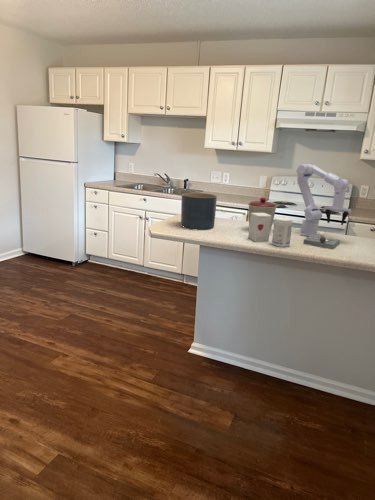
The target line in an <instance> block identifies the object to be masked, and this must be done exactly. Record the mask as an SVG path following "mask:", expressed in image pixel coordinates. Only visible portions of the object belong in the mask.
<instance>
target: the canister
mask: <svg viewBox="0 0 375 500" xmlns="http://www.w3.org/2000/svg"><path fill="white" fill-rule="evenodd" d="M247 206H248V224H249V225H248V227H249V226H250V216H251V213H266V214H269V215H271V225H270V230H271V229H272V228H273V224H274V220H275V214H276V210H277V208H278V204H277V205H276V203H274V202H271V201H267V198H265V197H260V198H259V200H254V201H250V202H249V203H247Z"/></svg>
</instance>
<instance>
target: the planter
mask: <svg viewBox="0 0 375 500" xmlns="http://www.w3.org/2000/svg"><path fill="white" fill-rule="evenodd" d="M217 199H218V196H217V195H215V194H211V193H206V192H205V193H204V192H186V193H182V194H181V205H180V207H181V209H180V210H181V211H180V213H181V215H180V216H181V217H180V220H181V221H180V225H182V226H184V227H186V228H185V229H187V228H189V229H188V230H193V229H197V230H196V231H206V230H207V231H209V230H212V229H214V228H215V220H216V208H217ZM182 226H181V227H182ZM184 227H183V228H184Z"/></svg>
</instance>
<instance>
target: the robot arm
mask: <svg viewBox="0 0 375 500" xmlns="http://www.w3.org/2000/svg"><path fill="white" fill-rule="evenodd" d="M296 173H297V184H298V187H299V190H300V193H301V197H302V199H303V202H304V205H305V208H304V212H303V213H304V220H302V221H301V227H300V233H299V235H301V236H306V237H309V236H311V235H315V236H319V233H318V228H319V222H320V220H321V219H322V218H323V213H322V211H321V210H320V208H319V206H317V205H316V203H315V200H314V198H313V195H312V191H311V188H310V186H309V182H308V180H309V179H310V177H311V176H312V175H313V174H314V175H317V176H318V177H321V178H323V179H324V182H325V183H327V184H329V185H331V186H333V188H334V193H333V199H332V201H333V202H332V206H328V205H327V206H324V207H323V210H324V213H325V216H326V222H327V224H329V223H330V221H331V216H332V215H331V214H332V212H339V213H342V216H341V222H340V226H343V225H344V223H345V221H346V219H347V217H348V216H349V214H351V213H352V209H350V208H345V207H344V206H345V205H344V204H345V197H346V192H347V189H348V187H349V186H350V185H349V180H348V179H347V178H342V177H341V176H338V175H336V173H335V172H326V171H325V170H323V169H322V168H320V167H318V166H317V165H314V164H312V163H307V164H306V163H305V164H304V163H301V164H298V166H297V168H296Z"/></svg>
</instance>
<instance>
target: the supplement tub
mask: <svg viewBox="0 0 375 500" xmlns="http://www.w3.org/2000/svg"><path fill="white" fill-rule="evenodd" d="M272 229H273V230H272V240H271V243H272V245H273V246H276V247H284V248H285V247H290V244H291V238H292V237H291V236H292V229H293V219H292V218H290V217H285V216H277V217H274V219H273V227H272Z"/></svg>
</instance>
